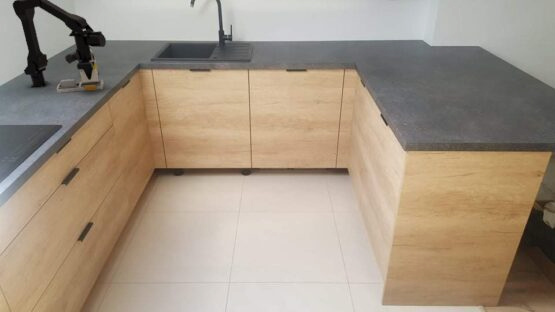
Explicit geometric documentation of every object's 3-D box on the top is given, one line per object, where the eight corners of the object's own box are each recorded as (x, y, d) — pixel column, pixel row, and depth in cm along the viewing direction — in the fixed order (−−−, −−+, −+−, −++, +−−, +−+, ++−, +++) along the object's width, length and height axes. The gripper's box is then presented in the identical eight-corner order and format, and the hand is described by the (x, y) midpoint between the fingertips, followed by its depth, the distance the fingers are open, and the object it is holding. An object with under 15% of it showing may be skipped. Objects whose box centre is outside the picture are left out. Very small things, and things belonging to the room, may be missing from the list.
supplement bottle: (83, 73, 216) (77, 49, 210) (95, 71, 220) (91, 47, 214) (87, 76, 212) (82, 52, 206) (100, 74, 216) (95, 50, 210)
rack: (59, 87, 197) (58, 82, 195) (103, 83, 202) (102, 79, 201) (57, 93, 190) (55, 88, 189) (102, 89, 195) (101, 84, 194)
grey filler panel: (63, 89, 195) (61, 80, 193) (77, 87, 197) (75, 78, 194) (62, 90, 193) (60, 81, 191) (76, 89, 194) (74, 80, 192)
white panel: (82, 80, 196) (80, 70, 194) (98, 79, 198) (96, 69, 195) (82, 82, 194) (80, 72, 191) (98, 81, 196) (95, 71, 193)
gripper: (66, 42, 193) (74, 74, 201) (60, 52, 178) (69, 86, 185) (91, 41, 196) (98, 72, 204) (88, 50, 181) (95, 84, 188)
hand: (89, 78), depth 195 cm, fingers closed on white panel, 2 cm apart
